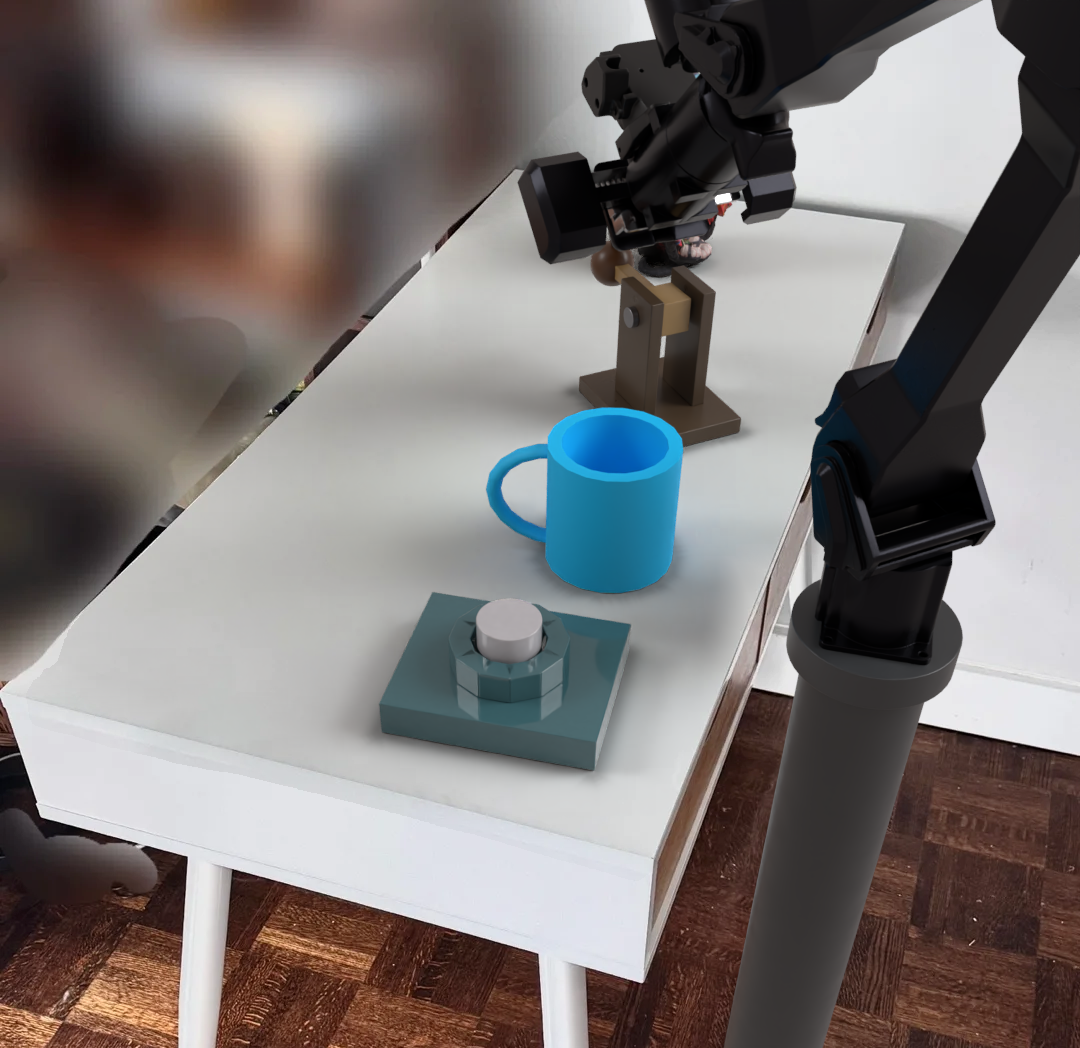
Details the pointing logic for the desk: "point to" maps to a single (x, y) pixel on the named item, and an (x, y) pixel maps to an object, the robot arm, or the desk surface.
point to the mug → (603, 498)
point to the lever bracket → (664, 363)
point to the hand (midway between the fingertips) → (614, 239)
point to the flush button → (509, 630)
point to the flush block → (508, 686)
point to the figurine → (678, 249)
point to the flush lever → (620, 264)
